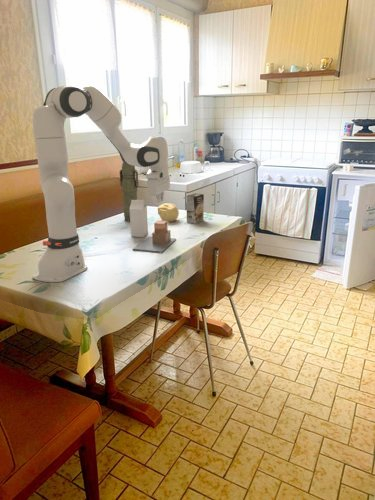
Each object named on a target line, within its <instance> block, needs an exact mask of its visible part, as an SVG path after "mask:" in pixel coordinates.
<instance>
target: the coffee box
mask: <svg viewBox="0 0 375 500" xmlns="http://www.w3.org/2000/svg"><path fill="white" fill-rule="evenodd" d="M204 196H205V195H204V193H203V194H202V193H192V194H189V195H186V223H189V224H190V223H191V224H194V225H196V224H198V223H201V222H203V221H204V214H205V212H204V211H205V209H204V208H205V207H204V206H205V205H204V200H205V199H204V198H205V197H204Z"/></svg>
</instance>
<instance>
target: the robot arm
mask: <svg viewBox="0 0 375 500" xmlns="http://www.w3.org/2000/svg"><path fill="white" fill-rule="evenodd" d="M83 115H87V117H88V118H89V119H90V120H91V121H92V122H93V123H94V124H95V125H96V126H97V127H98V129H99V130H101V132H102V133H103V134H104V135H105V136H106V138H107V139H108V140H109V142H110V143H111V144H112V145H113V147H114V148H115V149H116V150H117V153H118V154H119V156H120V158H121V160H122V163H123V162H124V163H125V164H126V165H128V166H135V167H138V168H148V167H149V169H148V170H147V172H146V173H145V178H146V179H147V180H146V185H147V186H146V187H147V193H148V196H153V197H156V203H161V202H163V201H164V195H165V192H166V191H168V190H169V189H170V188H171V180H170V179H171V177H170V175H169V163H168V158H169V151H168V143H167V140H166V138H164V137H162V136H154V135H153V136H152V135H151V136H149V138H148V139H147V140H146V141H144V142H143V143H141V144H136V143H132V142H131V141H128V139H127V137H125V135H124V134H123V133H122V131H121V130H120V129H119V127H120V125H121V123H122V114H121V112H120V110H119V109H118V107H117V106H116V105H115V104H114V102H113V101H112V100H111V99H110V97H108V96H107V94H105V92H103V91H102V90H100V89H99V88H98V87H97V86H95V85H93V84H90V85H89V84H88V85H86V86H84V87H82V88H81V87H78V86H75V85H69V86H68V85H67V86H66V85H61V86H58V87H55V88H52V89H50V90H49V91H48V92H47V93H46V96H45V99H44V102H43V105H41V106H38V107H37V108H35V109H34V111H33V115H32V130H33V138H34V143H35V149H36V150H35V151H36V156H37V157H36V158H37V165H38V174H39V181H40V188H41V191H42V193H43V198H44V206H45V215H46V216H45V218H46V225H47V231H48V237H47V240H43V241H42V246H44V247H45V246H46V247H47V248H46V249H45V251H44V253H43V255H42V256H41V258H40V259H39V261H38V265H37V269H38V270H37V272H35V273H34V274H33V275H32V278H33V279H34V280H35V281H39V282H45V283H46V282H47V283H60V282H64V281H66V280H68V279H70V278H73V277H74V276H76V275H78V274H80V273H82V272H84V271H86V270H88V266H87V265H86V263H85V258H84V254H83V250H82V248H81V246H80V244H79V243H80V236H79V233H78V229H77V221H76V202H75V201H76V200H75V199H76V198H75V188H74V185H73V183H72V181H70V179H69V165H68V164H69V157H68V148H67V141H66V140H67V139H66V134H65V121H66V119H67V118H68V119H69V118H78V117H81V116H83Z"/></svg>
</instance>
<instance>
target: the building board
mask: <svg viewBox="0 0 375 500" xmlns="http://www.w3.org/2000/svg"><path fill="white" fill-rule="evenodd" d="M176 241H177V238H173V237H171V230H169V229H168V231H167V232H165V233H164V234H163V233H155V230H154V231H153V232H152V233H151V236H149V235H148V236H147V237H146V238H144V239H143V240H141V242H139V243H137V245H135V246H134V247H132V249H131V250H132V251H137V252H147V253H148V252H149V253H157V254H163V253H164V252H165V251H166V250H167V249H168V248H170V246H171V245H172V244H174V242H176Z"/></svg>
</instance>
